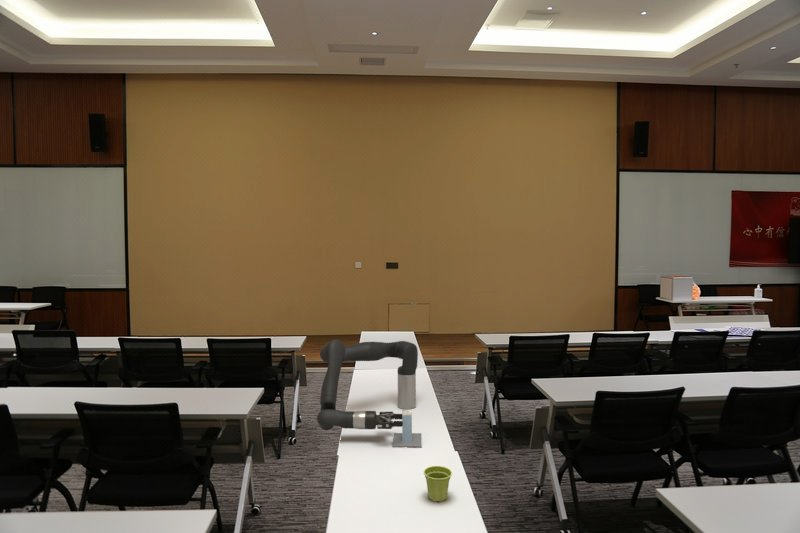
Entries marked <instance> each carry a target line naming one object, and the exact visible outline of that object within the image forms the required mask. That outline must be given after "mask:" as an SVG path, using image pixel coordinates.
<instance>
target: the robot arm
mask: <svg viewBox="0 0 800 533" xmlns="http://www.w3.org/2000/svg"><path fill="white" fill-rule="evenodd" d="M418 353H419V351H418V347H417V345H416V344H415V343H412V342H411V341H410V342H409V341H405V340H399V341H393V342H381V341H364V342H357V343H354V344H350V345H345V344H344V343H343V341H342V340H340V339H332V340H330V341H329V342H327V343H326V344H324V345H323V346H322V348H321V349H320V352H319V357H320V359H321V360H322V361H323V362H325V363H326V364H328V365H327V370H326V373H325V376H324V379H323V381H322V385H321V390H320V397H319V398H320V399H319V402H320V411H319V412H318V413H317V415H316V421H317V423H318V425H319V427H320V428H321V429H322V430H323V431H330V430H331V429H333V428H334V427H340V428H342V429H351V430H352V429H355V430H376V429H378V430H392V429H393V428H396V427H398V428H399V427H402V426H403V422H402V413H394V412H393V411H379V414H377V411H376V410H355V411H353V410H352V411H350V410H348V411H342V410H337V407H336V405H337V399H338V398H337V397H338V387H339V386H338V385H339V380H340V374H341V370H342V365H343V363H344V362H374V361H376V362H377V361H380V360H383V359H386V358H396V359H400V360H401V361H402V363H401V365H400V366H398V368H397V407H398V408H399V409H401V410H413V409H415V408H416V406H417V400H416V399H417V393H416V392H417V387H416V386H417V384H416V383H417V377H416V376H417V374H416V372H417V369H418V368H417V367H418V360H419V359H418V357H419V356H418V355H419V354H418Z"/></svg>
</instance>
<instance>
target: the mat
mask: <svg viewBox="0 0 800 533" xmlns="http://www.w3.org/2000/svg"><path fill="white" fill-rule="evenodd" d="M392 438H393V439H392V447H407V448H409V449H411V448H413V449H415V448H416V449H419V448H422V446H423V445H422V444H423V442H422V433H421V432H412V441H402V432H393V437H392ZM407 448H406V449H407Z"/></svg>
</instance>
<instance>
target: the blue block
mask: <svg viewBox="0 0 800 533" xmlns="http://www.w3.org/2000/svg"><path fill="white" fill-rule="evenodd" d="M401 411H402V413H401V414H402V419H401V421H402V422H403V426H402V430H401V431H402V432H401V433H402V441H412V433H413V417H412V416H413V409H401Z"/></svg>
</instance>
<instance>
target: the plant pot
mask: <svg viewBox="0 0 800 533" xmlns="http://www.w3.org/2000/svg"><path fill="white" fill-rule="evenodd" d="M423 475H424V476H425V477H424V478H425V480H426V488H427V495H428V499H429V498H430V499H429V500H432V501H433V500H434V501H433V502H436V501H441V502H444V500H447V499H446V498H448V491H449V484H450V479H451V477H452V475H453V472H452V470H451V469H450V468H449V467H446V466H441V465H431V466H428V467H426V468H425V469H424V470H423Z"/></svg>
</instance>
